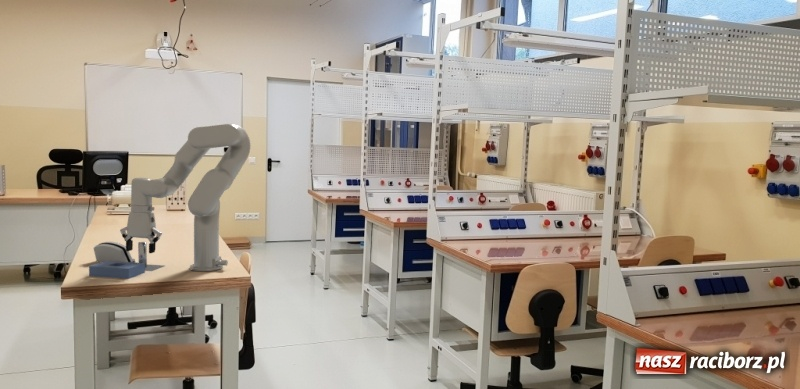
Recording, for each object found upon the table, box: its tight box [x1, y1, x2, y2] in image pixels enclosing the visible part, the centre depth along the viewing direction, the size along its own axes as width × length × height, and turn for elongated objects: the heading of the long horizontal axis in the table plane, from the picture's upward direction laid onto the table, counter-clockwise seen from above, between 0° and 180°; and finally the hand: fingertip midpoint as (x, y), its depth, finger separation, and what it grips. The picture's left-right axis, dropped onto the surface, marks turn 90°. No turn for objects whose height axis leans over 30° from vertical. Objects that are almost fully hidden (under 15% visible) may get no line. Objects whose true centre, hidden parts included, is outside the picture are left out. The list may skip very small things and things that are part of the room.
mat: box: [145, 263, 165, 272], centre depth 228 cm, size 14×10×1 cm
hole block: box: [88, 261, 146, 280], centre depth 215 cm, size 16×10×4 cm, turn 82°
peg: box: [137, 241, 148, 268], centre depth 227 cm, size 3×3×10 cm
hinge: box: [93, 241, 136, 263], centre depth 235 cm, size 17×5×10 cm, turn 69°
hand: (140, 251), depth 227 cm, fingers open, 9 cm apart
